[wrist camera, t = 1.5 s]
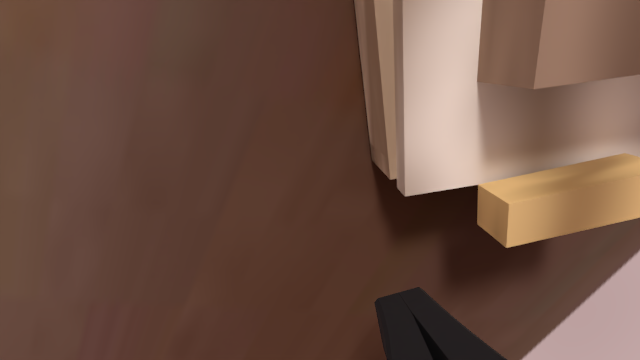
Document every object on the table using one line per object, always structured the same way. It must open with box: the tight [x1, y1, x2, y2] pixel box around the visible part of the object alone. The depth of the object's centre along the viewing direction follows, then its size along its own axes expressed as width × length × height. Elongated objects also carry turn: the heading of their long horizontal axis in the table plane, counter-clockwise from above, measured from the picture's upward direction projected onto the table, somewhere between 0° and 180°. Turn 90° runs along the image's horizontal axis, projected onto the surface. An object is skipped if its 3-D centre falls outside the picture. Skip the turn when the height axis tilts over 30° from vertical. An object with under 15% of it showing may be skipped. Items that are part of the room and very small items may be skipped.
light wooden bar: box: [477, 153, 640, 248], centre depth 14 cm, size 7×2×2 cm, turn 100°
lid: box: [393, 0, 640, 196], centre depth 12 cm, size 14×15×4 cm
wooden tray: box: [354, 0, 397, 180], centre depth 14 cm, size 14×12×3 cm
